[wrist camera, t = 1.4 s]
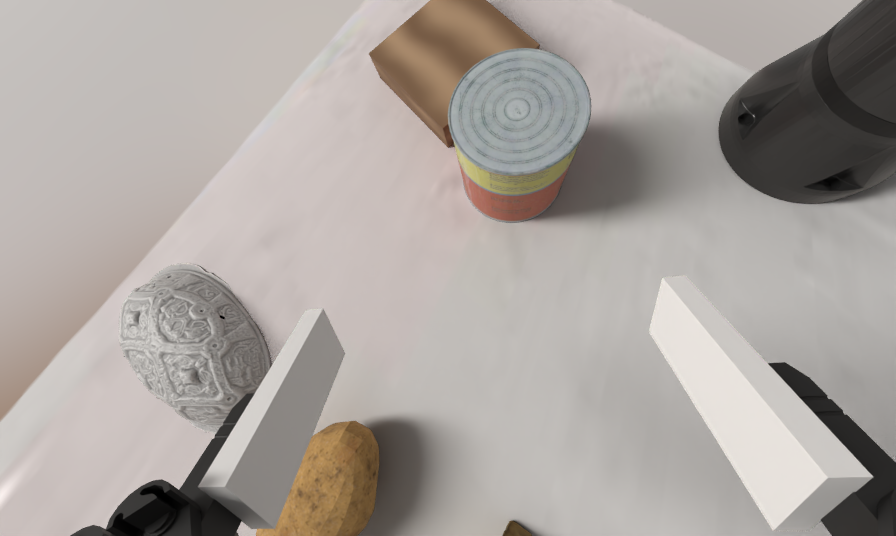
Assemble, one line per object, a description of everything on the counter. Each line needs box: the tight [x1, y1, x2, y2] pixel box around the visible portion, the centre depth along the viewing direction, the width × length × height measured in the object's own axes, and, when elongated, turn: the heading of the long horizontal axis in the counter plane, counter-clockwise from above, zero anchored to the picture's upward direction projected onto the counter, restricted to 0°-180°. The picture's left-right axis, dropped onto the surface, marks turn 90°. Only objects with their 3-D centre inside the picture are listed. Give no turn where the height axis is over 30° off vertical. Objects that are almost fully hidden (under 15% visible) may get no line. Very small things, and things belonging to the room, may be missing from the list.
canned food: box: [448, 48, 591, 223], centre depth 32 cm, size 11×11×12 cm
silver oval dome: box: [119, 263, 271, 434], centre depth 38 cm, size 16×25×7 cm, turn 51°
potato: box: [256, 421, 379, 536], centre depth 31 cm, size 10×14×8 cm
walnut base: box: [369, 0, 540, 147], centre depth 39 cm, size 14×14×4 cm
